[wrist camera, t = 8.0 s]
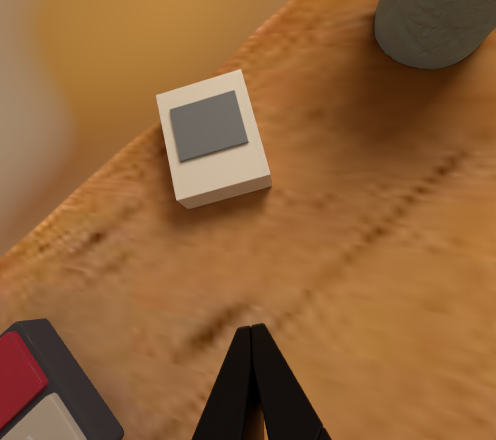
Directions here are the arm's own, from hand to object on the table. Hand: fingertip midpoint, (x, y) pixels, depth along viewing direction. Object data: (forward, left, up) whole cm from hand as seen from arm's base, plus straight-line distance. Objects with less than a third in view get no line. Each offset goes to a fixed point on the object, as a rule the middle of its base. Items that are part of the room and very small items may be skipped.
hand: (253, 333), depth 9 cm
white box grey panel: (+8, +4, -11) cm, 14 cm away
